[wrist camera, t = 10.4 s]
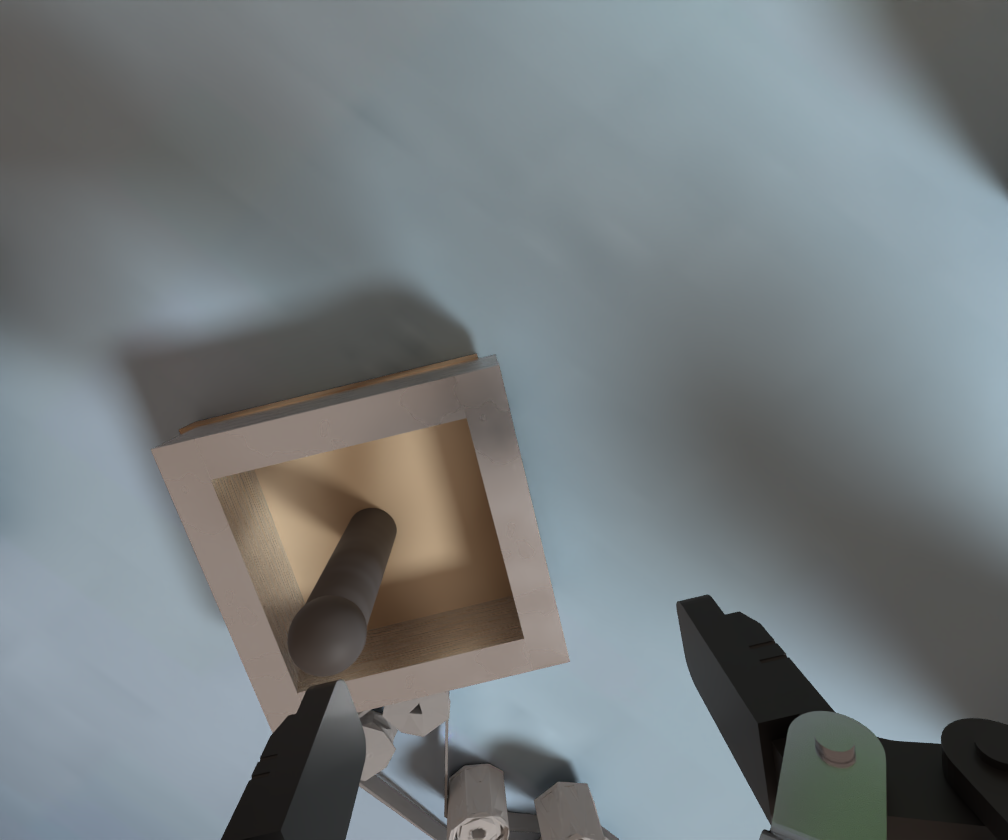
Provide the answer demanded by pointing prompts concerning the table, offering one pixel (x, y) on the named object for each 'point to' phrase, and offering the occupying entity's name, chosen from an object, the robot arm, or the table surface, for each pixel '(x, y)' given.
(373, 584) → the wooden board with peg
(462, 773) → the pulley system
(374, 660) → the link
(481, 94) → the table surface
